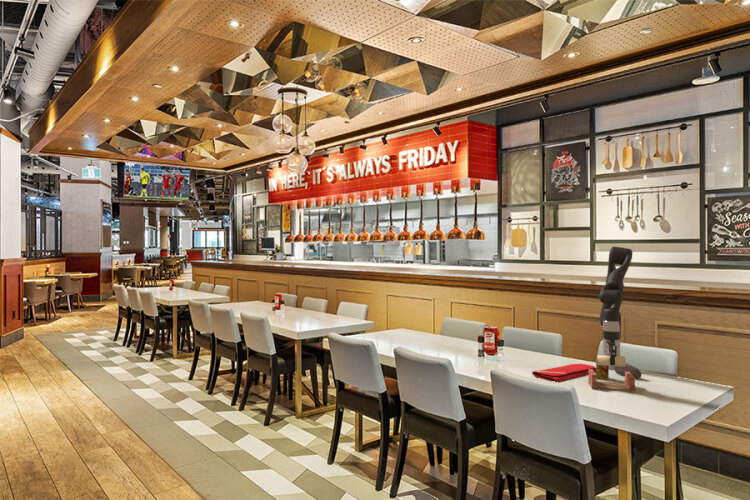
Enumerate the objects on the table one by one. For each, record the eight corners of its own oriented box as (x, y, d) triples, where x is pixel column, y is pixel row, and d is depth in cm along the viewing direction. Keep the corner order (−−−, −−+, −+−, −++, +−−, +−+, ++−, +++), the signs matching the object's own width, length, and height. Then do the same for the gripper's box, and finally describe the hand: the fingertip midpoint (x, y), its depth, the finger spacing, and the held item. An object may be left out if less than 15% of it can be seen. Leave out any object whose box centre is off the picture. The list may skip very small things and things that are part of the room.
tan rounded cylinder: (623, 365, 239) (623, 355, 239) (626, 367, 234) (626, 357, 234) (596, 363, 242) (596, 354, 242) (598, 366, 238) (598, 356, 237)
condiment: (608, 381, 250) (608, 358, 250) (591, 378, 254) (591, 356, 254) (609, 377, 256) (609, 355, 256) (592, 375, 260) (592, 353, 260)
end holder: (588, 382, 247) (588, 369, 247) (629, 385, 241) (629, 371, 241) (592, 389, 235) (592, 374, 235) (635, 392, 230) (634, 377, 230)
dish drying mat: (601, 372, 269) (601, 365, 269) (556, 383, 247) (556, 376, 247) (575, 366, 282) (575, 360, 282) (531, 377, 260) (531, 370, 260)
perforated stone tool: (644, 380, 252) (644, 367, 252) (637, 381, 250) (637, 367, 250) (620, 373, 266) (620, 360, 266) (613, 374, 264) (613, 361, 264)
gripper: (622, 332, 230) (622, 367, 230) (616, 327, 244) (616, 361, 244) (605, 331, 232) (605, 366, 232) (600, 327, 246) (600, 360, 246)
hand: (611, 363), depth 238 cm, fingers closed on tan rounded cylinder, 5 cm apart
